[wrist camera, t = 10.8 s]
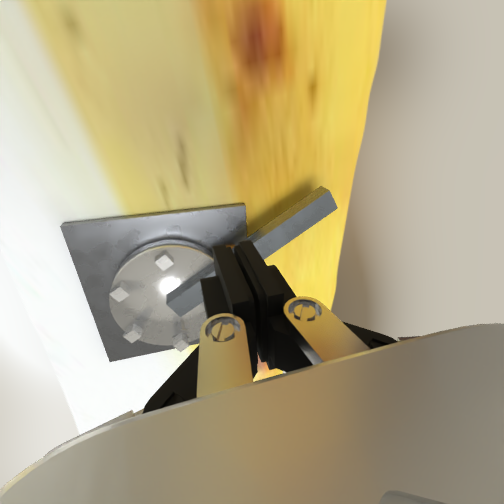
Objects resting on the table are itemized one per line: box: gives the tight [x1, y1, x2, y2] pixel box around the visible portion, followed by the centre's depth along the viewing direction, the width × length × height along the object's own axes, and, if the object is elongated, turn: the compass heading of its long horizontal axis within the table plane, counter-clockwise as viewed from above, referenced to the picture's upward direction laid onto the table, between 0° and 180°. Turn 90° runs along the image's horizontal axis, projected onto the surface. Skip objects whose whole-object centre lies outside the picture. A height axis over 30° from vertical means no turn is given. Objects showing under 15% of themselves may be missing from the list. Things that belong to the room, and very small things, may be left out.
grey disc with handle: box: [109, 186, 337, 352], centre depth 34 cm, size 29×14×4 cm, turn 122°
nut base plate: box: [60, 203, 247, 362], centre depth 37 cm, size 20×20×1 cm
